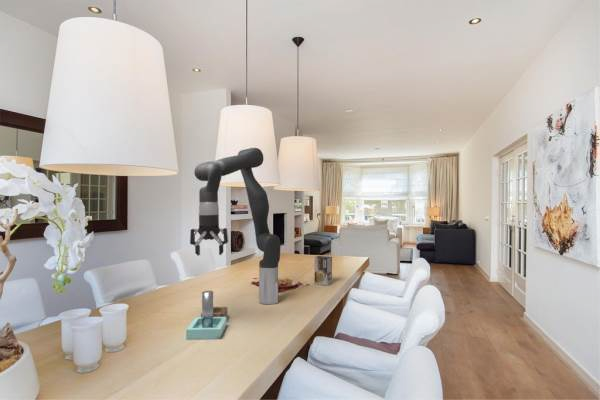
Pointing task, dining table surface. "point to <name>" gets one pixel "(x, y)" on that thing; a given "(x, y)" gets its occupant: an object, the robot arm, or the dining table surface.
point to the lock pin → (207, 309)
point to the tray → (206, 329)
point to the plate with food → (285, 283)
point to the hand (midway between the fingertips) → (209, 254)
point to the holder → (219, 312)
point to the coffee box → (323, 270)
